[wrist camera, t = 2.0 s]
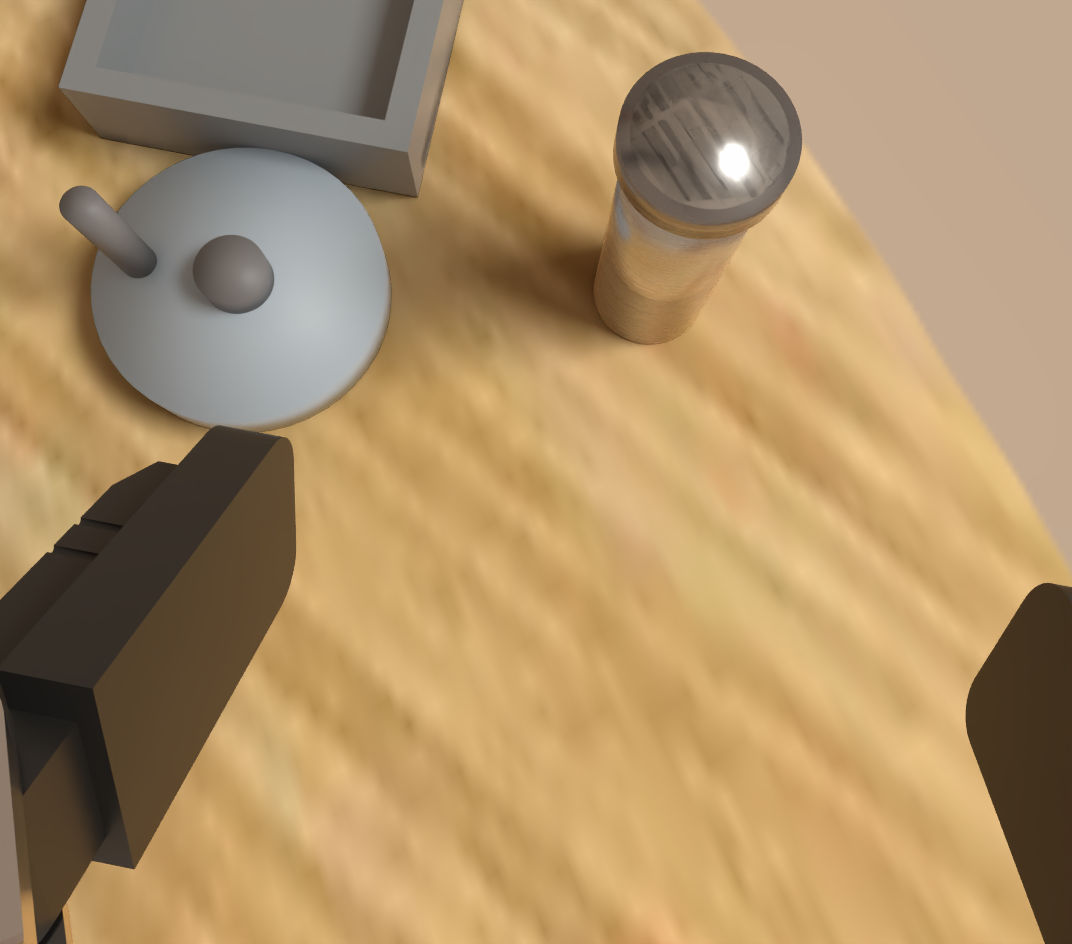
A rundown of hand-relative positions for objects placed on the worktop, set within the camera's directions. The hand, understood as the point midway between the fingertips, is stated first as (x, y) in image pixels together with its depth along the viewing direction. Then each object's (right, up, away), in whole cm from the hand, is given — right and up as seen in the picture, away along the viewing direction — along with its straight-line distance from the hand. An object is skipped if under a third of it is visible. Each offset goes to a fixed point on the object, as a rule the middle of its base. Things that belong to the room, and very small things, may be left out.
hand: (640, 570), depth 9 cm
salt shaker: (+3, +8, +22) cm, 23 cm away
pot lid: (-11, +7, +21) cm, 25 cm away
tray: (-10, +18, +23) cm, 31 cm away
